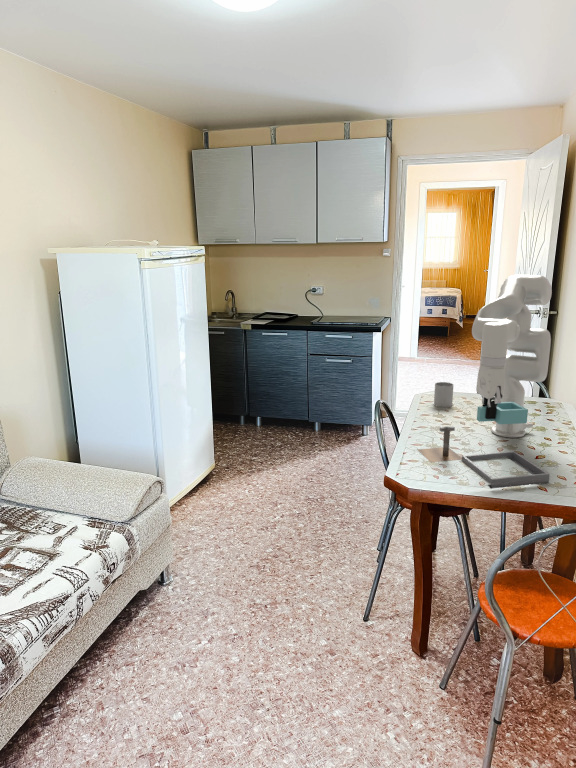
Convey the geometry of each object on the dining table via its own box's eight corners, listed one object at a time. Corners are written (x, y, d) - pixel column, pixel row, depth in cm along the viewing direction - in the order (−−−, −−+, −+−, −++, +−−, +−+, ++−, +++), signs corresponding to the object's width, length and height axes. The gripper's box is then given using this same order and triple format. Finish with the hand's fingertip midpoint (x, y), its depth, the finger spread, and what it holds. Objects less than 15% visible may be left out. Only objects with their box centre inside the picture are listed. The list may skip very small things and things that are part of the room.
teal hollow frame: (472, 416, 174) (473, 403, 173) (512, 414, 176) (513, 401, 175) (484, 425, 166) (485, 411, 165) (526, 423, 167) (528, 409, 166)
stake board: (447, 450, 194) (449, 419, 191) (463, 463, 182) (465, 430, 179) (416, 453, 192) (418, 422, 189) (430, 466, 181) (432, 433, 178)
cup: (434, 406, 247) (435, 386, 244) (433, 401, 255) (434, 382, 252) (453, 407, 245) (454, 386, 243) (451, 402, 253) (452, 382, 251)
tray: (513, 459, 185) (514, 451, 184) (548, 482, 166) (549, 474, 165) (461, 463, 182) (461, 455, 181) (491, 488, 163) (492, 479, 163)
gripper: (470, 357, 173) (467, 410, 177) (493, 367, 158) (488, 425, 162) (492, 356, 174) (488, 409, 178) (517, 366, 158) (511, 424, 163)
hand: (488, 416), depth 170 cm, fingers closed on teal hollow frame, 2 cm apart
